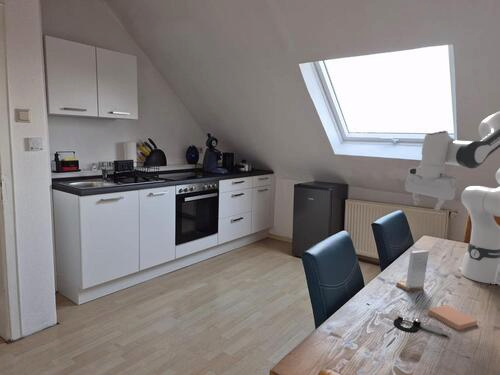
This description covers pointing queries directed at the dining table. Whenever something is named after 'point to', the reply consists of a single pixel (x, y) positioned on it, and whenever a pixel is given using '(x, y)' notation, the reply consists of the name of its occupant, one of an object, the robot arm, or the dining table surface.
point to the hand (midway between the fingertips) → (426, 206)
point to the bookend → (415, 271)
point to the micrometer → (417, 325)
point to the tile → (452, 317)
